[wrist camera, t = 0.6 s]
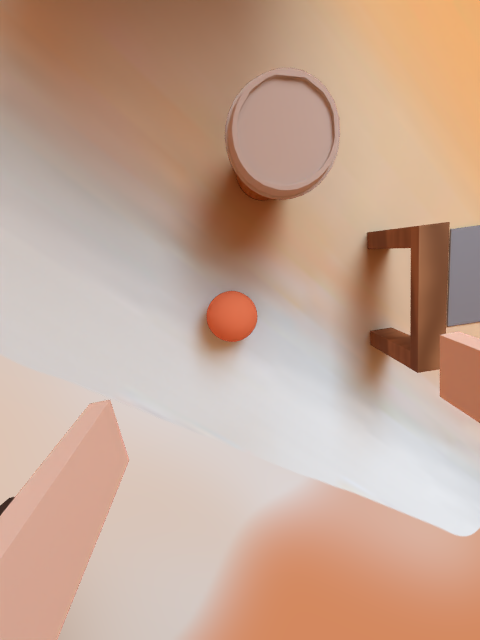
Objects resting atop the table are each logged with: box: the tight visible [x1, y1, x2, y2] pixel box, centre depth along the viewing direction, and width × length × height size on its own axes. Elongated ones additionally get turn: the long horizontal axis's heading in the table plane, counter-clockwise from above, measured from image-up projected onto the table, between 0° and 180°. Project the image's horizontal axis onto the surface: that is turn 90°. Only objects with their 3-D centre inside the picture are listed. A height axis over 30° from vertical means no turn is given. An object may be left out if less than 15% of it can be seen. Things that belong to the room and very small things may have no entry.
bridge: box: [368, 222, 449, 373], centre depth 34 cm, size 3×15×10 cm, turn 8°
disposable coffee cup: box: [225, 68, 340, 200], centre depth 29 cm, size 10×10×12 cm
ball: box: [207, 291, 257, 342], centre depth 35 cm, size 6×6×6 cm
